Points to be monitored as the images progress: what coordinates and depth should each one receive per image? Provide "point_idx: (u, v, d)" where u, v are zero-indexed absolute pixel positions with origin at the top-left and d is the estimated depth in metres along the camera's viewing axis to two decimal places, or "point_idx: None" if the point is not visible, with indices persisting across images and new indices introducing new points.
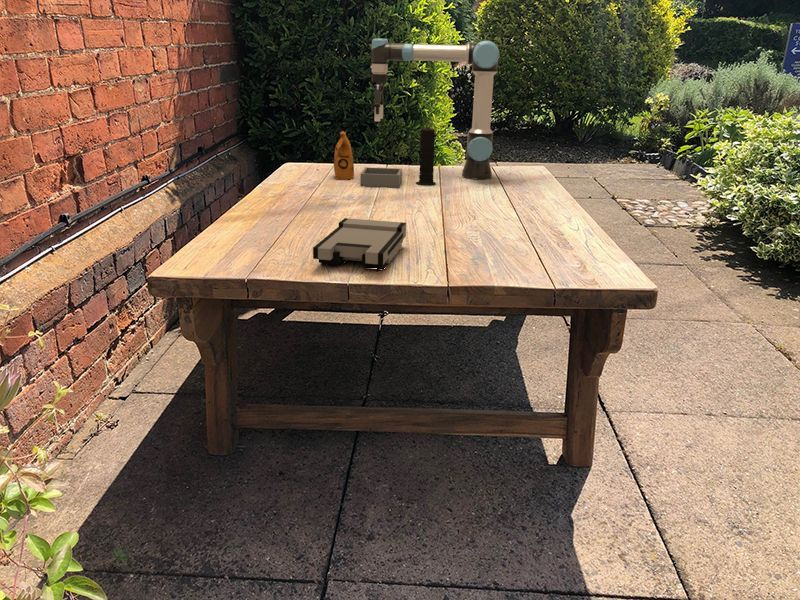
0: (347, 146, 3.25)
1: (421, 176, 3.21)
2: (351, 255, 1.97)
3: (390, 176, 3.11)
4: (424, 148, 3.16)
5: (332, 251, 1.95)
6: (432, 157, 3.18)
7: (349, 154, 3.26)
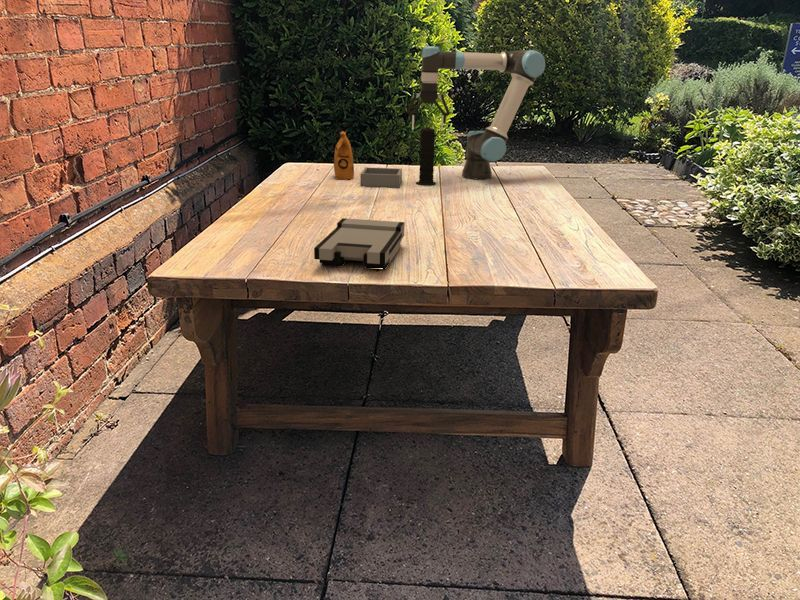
0: (347, 146, 3.25)
1: (421, 176, 3.21)
2: (352, 255, 1.97)
3: (390, 176, 3.11)
4: (424, 148, 3.16)
5: (333, 251, 1.95)
6: (432, 157, 3.18)
7: (349, 154, 3.26)
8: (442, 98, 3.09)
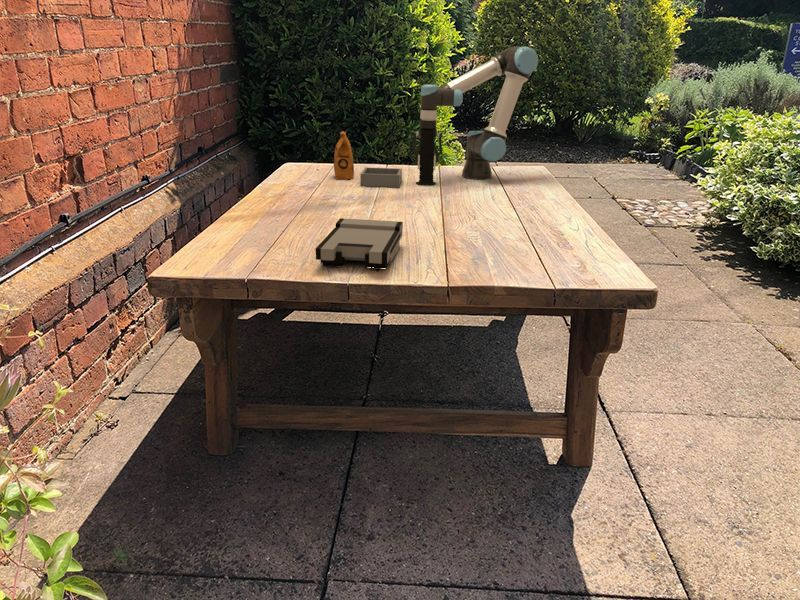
0: (347, 146, 3.25)
1: (421, 176, 3.21)
2: (353, 255, 1.97)
3: (390, 176, 3.11)
4: (424, 148, 3.16)
5: (335, 251, 1.95)
6: (432, 157, 3.18)
7: (349, 154, 3.26)
8: (440, 137, 3.15)
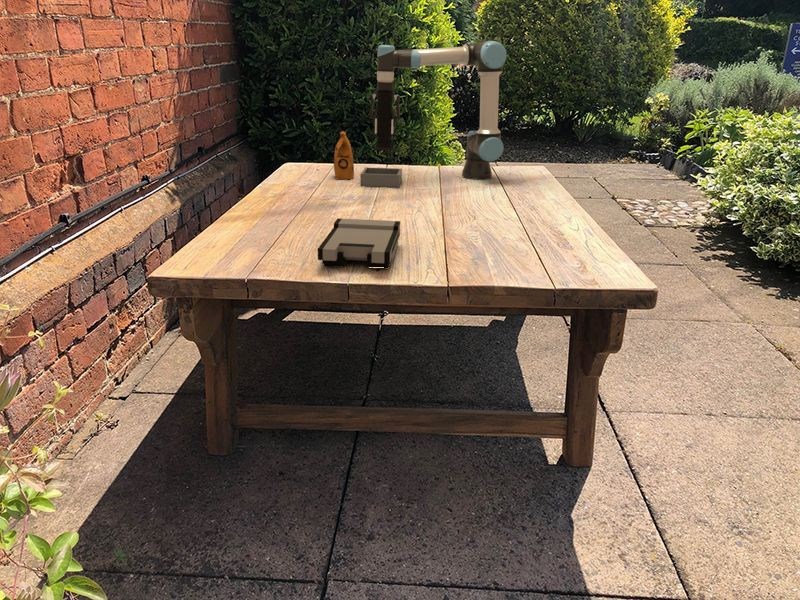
0: (347, 146, 3.25)
1: (378, 140, 3.13)
2: (355, 255, 1.97)
3: (390, 176, 3.11)
4: (381, 111, 3.07)
5: (336, 252, 1.95)
6: (389, 120, 3.10)
7: (349, 154, 3.26)
8: (397, 100, 3.07)
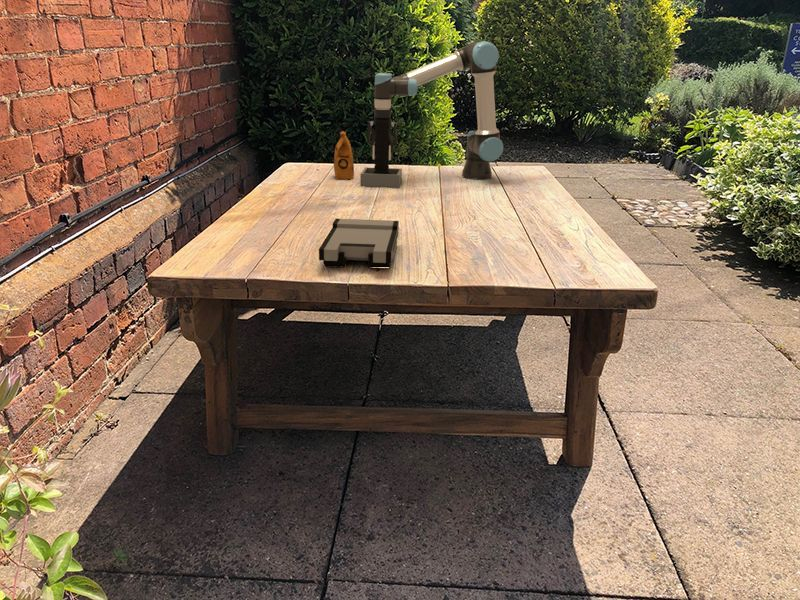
0: (347, 146, 3.25)
1: (376, 166, 3.17)
2: (356, 255, 1.97)
3: (390, 176, 3.11)
4: (378, 138, 3.12)
5: (338, 252, 1.95)
6: (387, 147, 3.14)
7: (349, 154, 3.26)
8: (394, 127, 3.11)
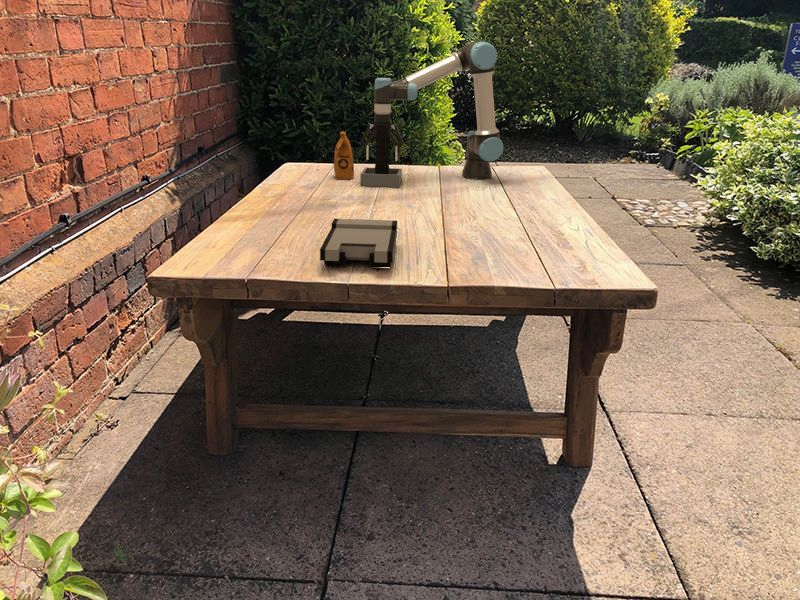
0: (347, 146, 3.25)
1: None
2: (357, 255, 1.97)
3: (390, 176, 3.11)
4: (379, 145, 3.13)
5: (339, 252, 1.95)
6: (387, 154, 3.15)
7: (349, 154, 3.26)
8: (395, 129, 3.11)
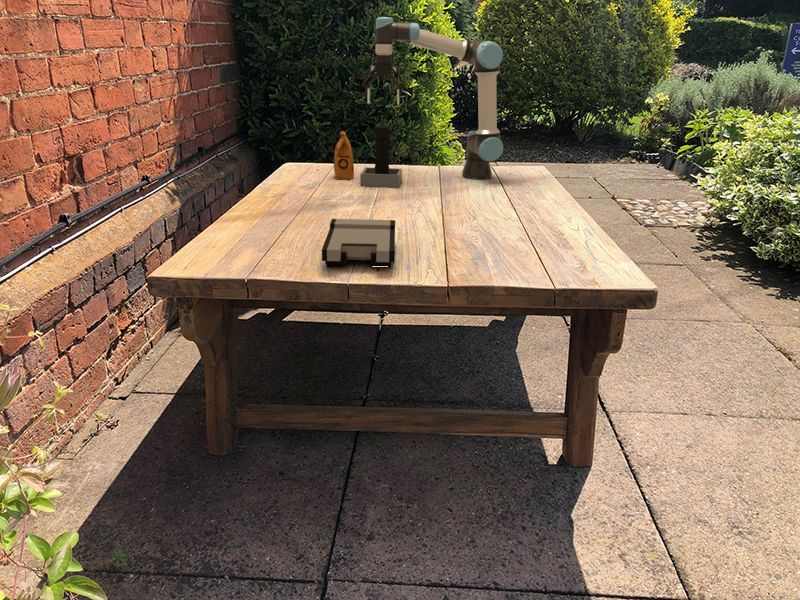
0: (347, 146, 3.25)
1: None
2: (358, 255, 1.97)
3: (390, 176, 3.11)
4: (378, 145, 3.13)
5: (340, 252, 1.95)
6: (387, 155, 3.15)
7: (349, 154, 3.26)
8: (397, 70, 3.03)
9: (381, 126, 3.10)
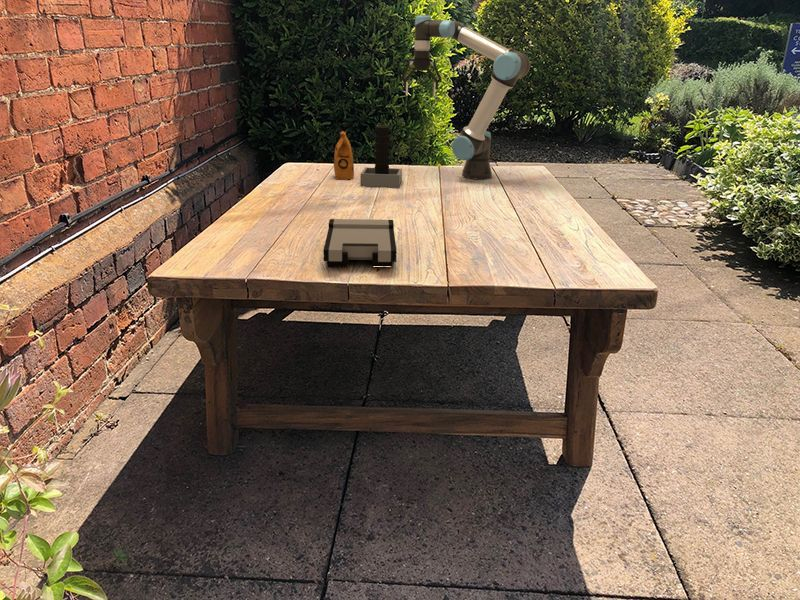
0: (347, 146, 3.25)
1: None
2: (359, 255, 1.97)
3: (390, 176, 3.11)
4: (378, 145, 3.13)
5: (342, 252, 1.95)
6: (387, 155, 3.15)
7: (349, 154, 3.26)
8: (434, 65, 3.27)
9: (381, 126, 3.10)
